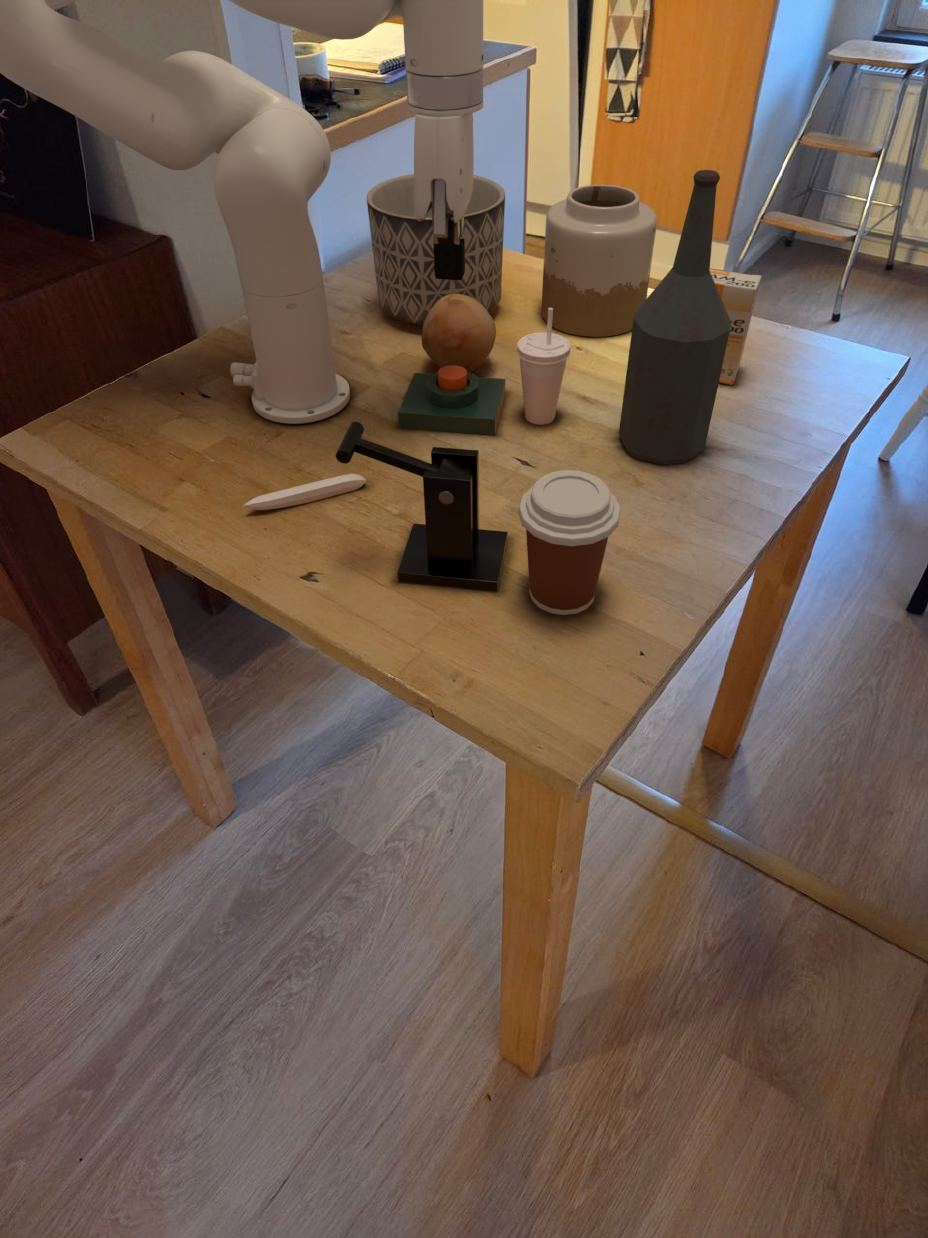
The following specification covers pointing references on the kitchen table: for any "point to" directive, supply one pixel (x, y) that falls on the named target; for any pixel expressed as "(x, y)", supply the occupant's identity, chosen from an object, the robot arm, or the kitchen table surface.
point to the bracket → (453, 531)
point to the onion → (458, 332)
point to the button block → (452, 405)
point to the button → (452, 378)
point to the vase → (597, 260)
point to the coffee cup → (567, 538)
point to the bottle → (678, 346)
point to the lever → (389, 454)
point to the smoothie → (542, 372)
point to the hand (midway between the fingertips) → (449, 276)
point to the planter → (410, 249)
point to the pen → (307, 492)
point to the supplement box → (735, 315)
